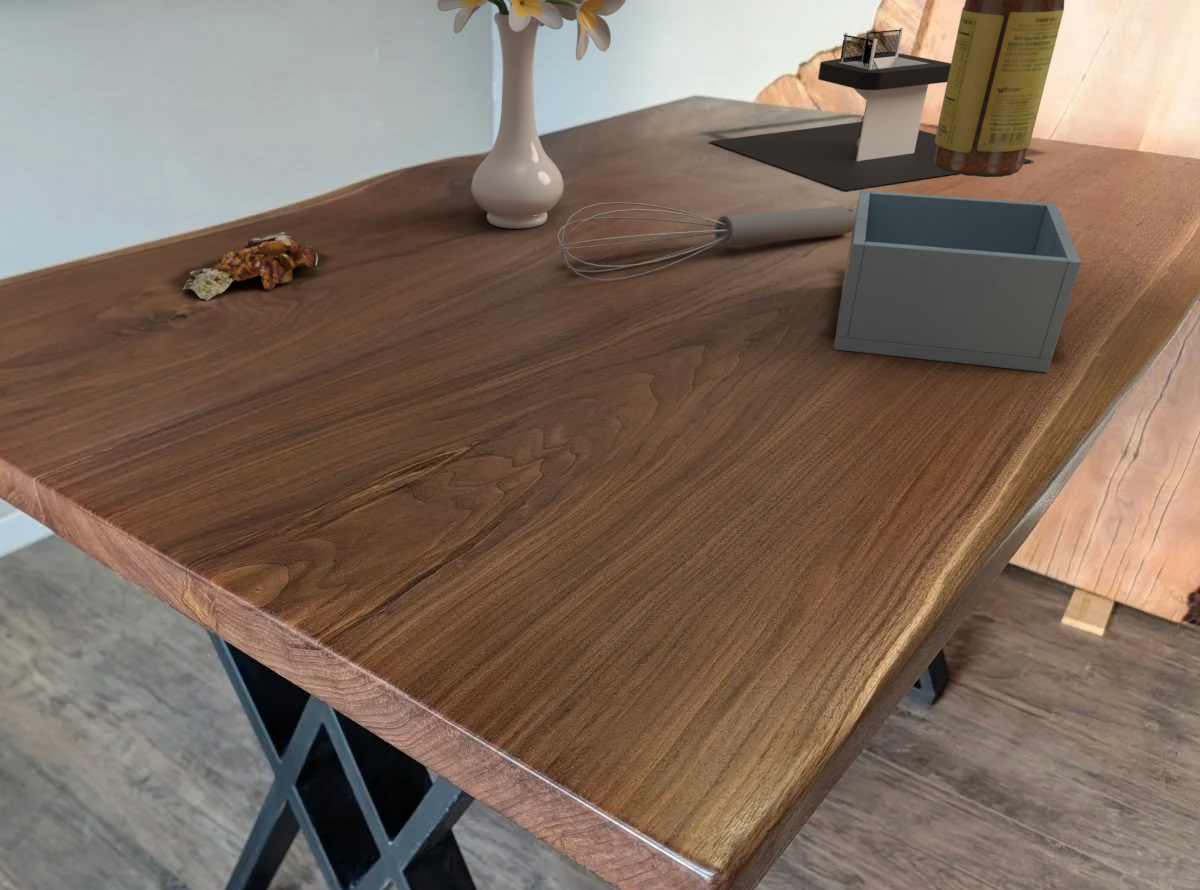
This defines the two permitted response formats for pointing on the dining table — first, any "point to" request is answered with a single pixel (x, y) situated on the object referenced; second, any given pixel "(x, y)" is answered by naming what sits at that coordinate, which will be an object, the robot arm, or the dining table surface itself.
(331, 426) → the dining table surface
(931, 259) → the open box
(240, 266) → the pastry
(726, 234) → the kitchen whisk
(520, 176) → the flower vase
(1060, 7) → the sauce bottle
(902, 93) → the black-topped pedestal
